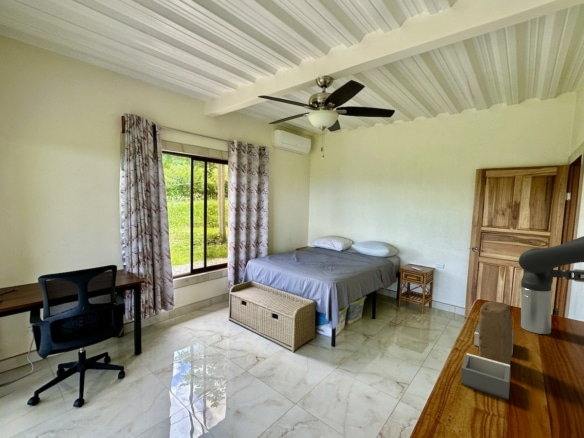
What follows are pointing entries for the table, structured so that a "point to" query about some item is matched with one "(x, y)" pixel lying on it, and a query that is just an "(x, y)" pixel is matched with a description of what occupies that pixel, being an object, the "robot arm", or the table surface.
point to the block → (495, 332)
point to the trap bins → (486, 373)
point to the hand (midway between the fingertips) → (545, 272)
